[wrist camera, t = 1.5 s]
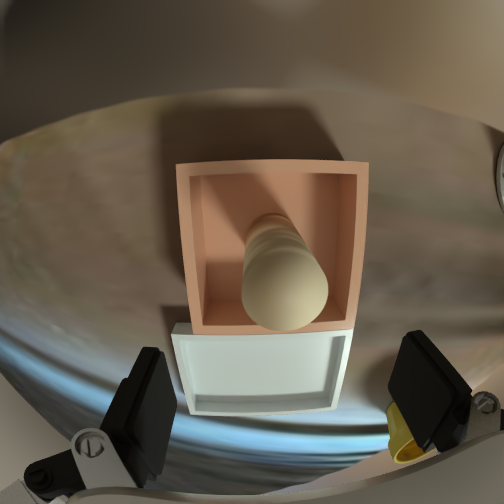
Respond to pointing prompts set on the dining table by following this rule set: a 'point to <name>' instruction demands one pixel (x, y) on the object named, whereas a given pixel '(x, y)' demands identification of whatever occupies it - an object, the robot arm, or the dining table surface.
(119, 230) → the dining table surface
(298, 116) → the dining table surface
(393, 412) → the plant pot
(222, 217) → the peach square hollow box
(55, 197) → the dining table surface
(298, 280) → the maple peg
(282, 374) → the grey tray
